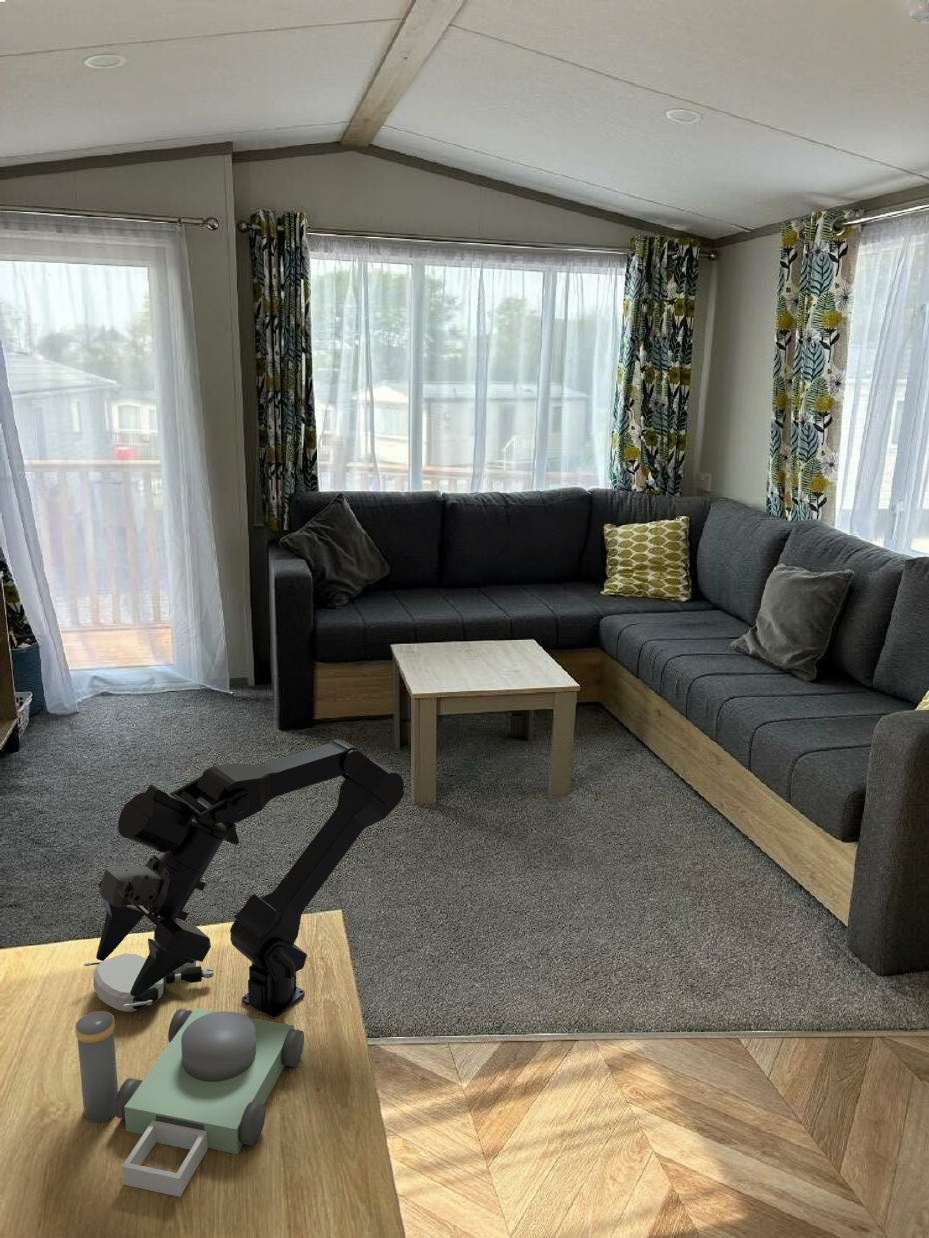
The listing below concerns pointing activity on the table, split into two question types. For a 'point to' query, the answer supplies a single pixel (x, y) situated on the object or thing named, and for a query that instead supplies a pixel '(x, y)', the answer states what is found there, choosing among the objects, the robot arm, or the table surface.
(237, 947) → the robot arm
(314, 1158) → the table surface
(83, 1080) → the grey banded cylinder
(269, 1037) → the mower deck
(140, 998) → the robot toy
